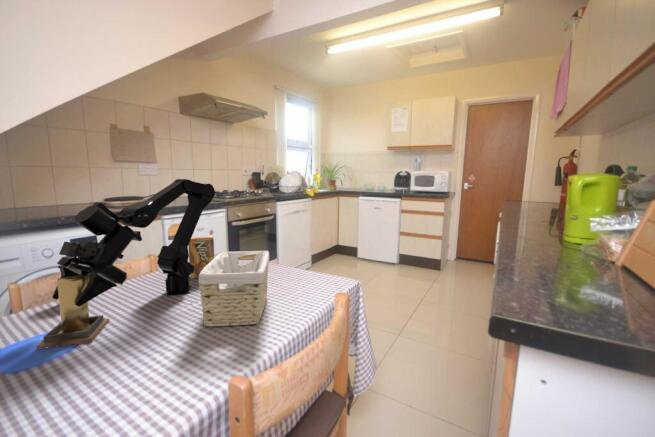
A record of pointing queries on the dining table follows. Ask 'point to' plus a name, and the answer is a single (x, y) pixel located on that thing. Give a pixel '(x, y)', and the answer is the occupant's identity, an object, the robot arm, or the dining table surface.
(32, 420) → the dining table surface
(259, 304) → the storage basket
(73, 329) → the billet
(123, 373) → the dining table surface
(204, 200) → the robot arm
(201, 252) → the candy box
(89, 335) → the square brown tray
